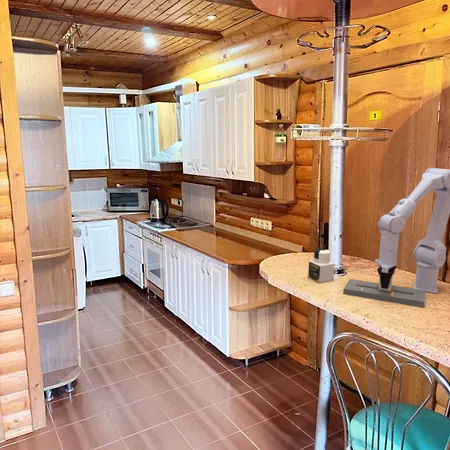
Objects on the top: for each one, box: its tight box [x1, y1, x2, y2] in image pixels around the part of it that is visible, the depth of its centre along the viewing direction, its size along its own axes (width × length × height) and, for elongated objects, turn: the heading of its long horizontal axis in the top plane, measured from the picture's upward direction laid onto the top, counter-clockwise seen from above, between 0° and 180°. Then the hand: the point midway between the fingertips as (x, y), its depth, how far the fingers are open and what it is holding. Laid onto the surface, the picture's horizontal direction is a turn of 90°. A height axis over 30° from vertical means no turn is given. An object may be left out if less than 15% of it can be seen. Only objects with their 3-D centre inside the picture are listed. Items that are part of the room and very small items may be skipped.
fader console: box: [342, 278, 426, 309], centre depth 146 cm, size 12×26×2 cm, turn 63°
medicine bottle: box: [307, 248, 335, 284], centre depth 161 cm, size 7×7×12 cm
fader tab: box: [378, 274, 394, 291], centre depth 145 cm, size 3×4×5 cm
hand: (385, 286), depth 145 cm, fingers closed on fader tab, 3 cm apart
